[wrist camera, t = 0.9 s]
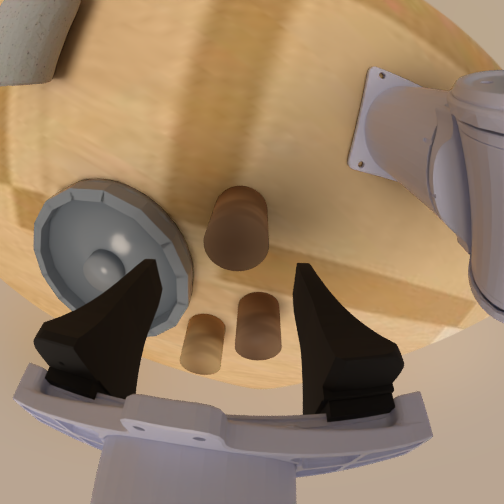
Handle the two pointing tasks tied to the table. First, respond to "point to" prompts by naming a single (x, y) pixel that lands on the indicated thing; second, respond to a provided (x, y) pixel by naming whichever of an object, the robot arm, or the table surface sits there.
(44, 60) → the ceramic mug
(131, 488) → the robot arm
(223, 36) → the table surface
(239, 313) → the bead
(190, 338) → the bead
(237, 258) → the bead
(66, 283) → the tray
